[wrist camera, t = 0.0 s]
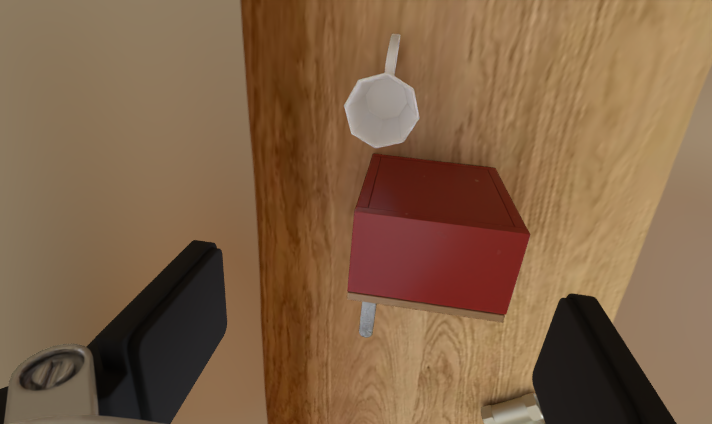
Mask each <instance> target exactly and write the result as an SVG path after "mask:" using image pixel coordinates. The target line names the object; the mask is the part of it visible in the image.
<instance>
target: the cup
mask: <svg viewBox="0 0 712 424" xmlns="http://www.w3.org/2000/svg"><path fill="white" fill-rule="evenodd" d="M399 42H400V34H394V33H392V35H391V38H390V43H389V47H388V53H387V59H386V65H385V71H384V73H383V74H379V75H375V76H371V77H367V78H363V79H359V80H358V82H357V84H356V85H355V87H354V89H353V91H352V92H351V94H350V96H349V98H348V99H347V101H346V103H345V105H344V107H345V111H346V115H347V119H348V122H349V126H350V130H351V134H353V135H354V136H356V137H358V138H359V139H361V140H363V141H364V142H366V143H367V144H369V145H371V146H372V147H374V148H380V147H385V146H390V145H394V144H399V143H403V142H404V141H405V139H406V138H407V136H408V135H409V133H410V132H411V130H412V129H413V127H414V126H415V124H416V123H417V121H418V120H419V113H418V108H417V102H416V97H415V92H414V88H412V87H411V86H409V85H407V84H406V83H404V82H403V81H401V80H400V79H398V78H397V77H395V76H394V75H395V69H396V63H397V56H398V49H399Z"/></svg>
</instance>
